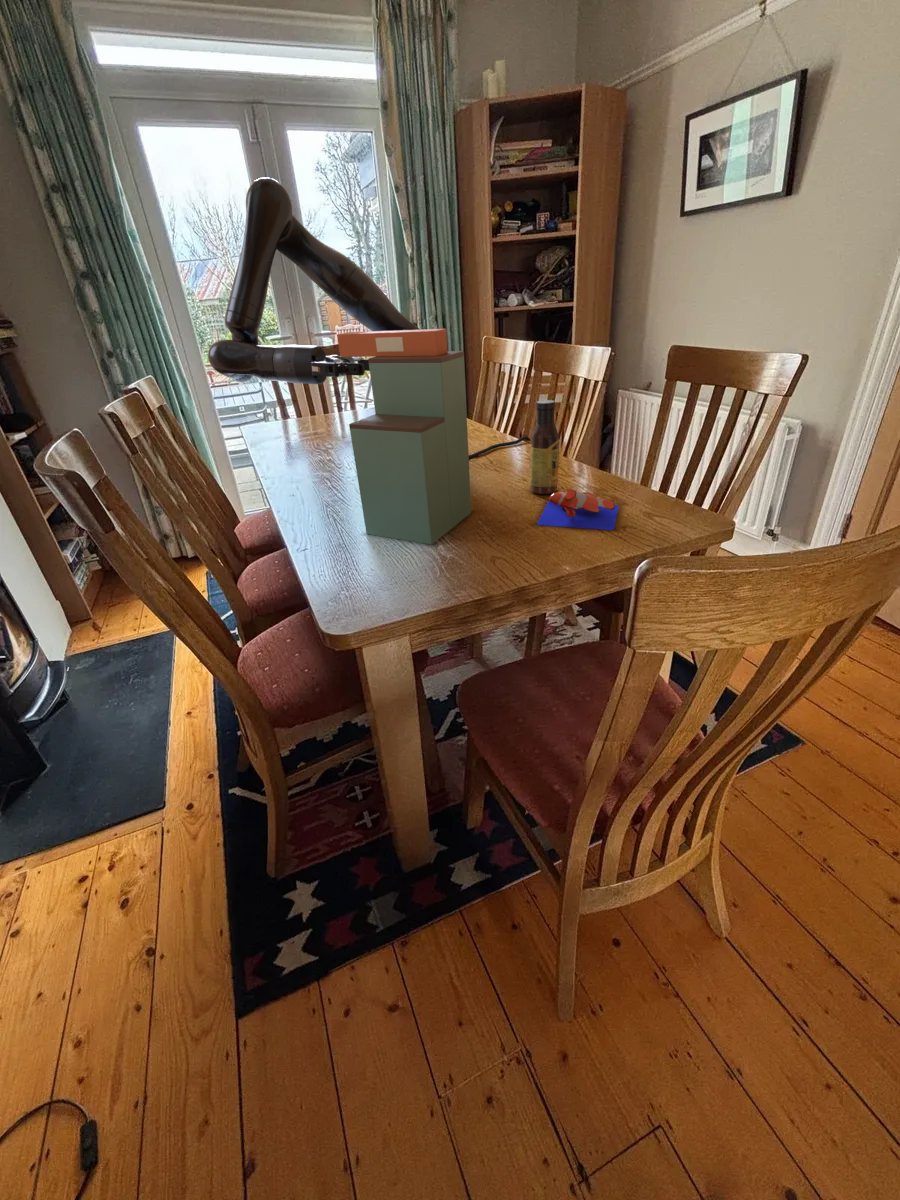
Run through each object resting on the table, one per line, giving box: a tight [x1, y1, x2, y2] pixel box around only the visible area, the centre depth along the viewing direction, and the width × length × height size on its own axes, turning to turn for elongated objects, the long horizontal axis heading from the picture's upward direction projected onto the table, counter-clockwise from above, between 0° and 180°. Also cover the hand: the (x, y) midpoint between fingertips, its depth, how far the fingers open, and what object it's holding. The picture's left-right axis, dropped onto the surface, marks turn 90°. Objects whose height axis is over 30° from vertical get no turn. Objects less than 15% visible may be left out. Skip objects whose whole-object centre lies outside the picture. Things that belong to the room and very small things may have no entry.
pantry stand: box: [348, 350, 472, 546], centre depth 103 cm, size 16×18×32 cm
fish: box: [548, 488, 617, 518], centre depth 108 cm, size 13×5×9 cm
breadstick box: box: [336, 328, 449, 358], centre depth 100 cm, size 22×4×4 cm, turn 62°
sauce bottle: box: [530, 399, 560, 495], centre depth 118 cm, size 7×6×20 cm
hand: (371, 367), depth 110 cm, fingers open, 8 cm apart
